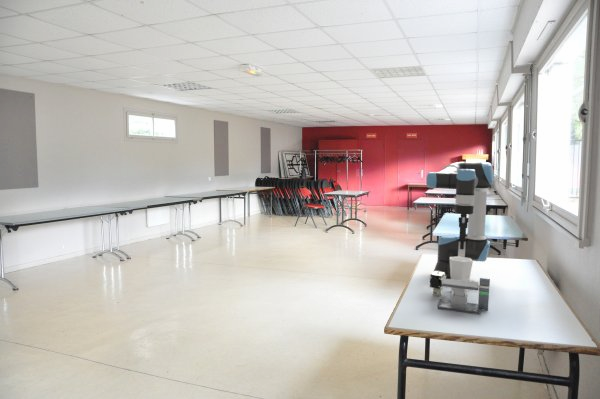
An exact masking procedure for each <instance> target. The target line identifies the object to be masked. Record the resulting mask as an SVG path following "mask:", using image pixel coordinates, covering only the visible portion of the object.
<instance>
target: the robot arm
mask: <svg viewBox="0 0 600 399" xmlns="http://www.w3.org/2000/svg"><path fill="white" fill-rule="evenodd" d="M494 177H495V176H494V168H493V164H492V163H491V162H486V161H485V162H484V161H459V162H458V161H457V162H453V163H450V164H447V165H445V166H444V167H443V168H442V170H439V171H432V172H431V171H430V172H428V173H427V175H426V180H425V181H426V187H427V188H429V189H443V190H444V189H447V190H455V196H454V197H453V199H455V201H454V202H455V205H454V213H455V214H459V215H460V216H458V227H459V234H444V235H441V236H439V237H438V243H437V261H436V264H435V266H434V269H433V272H435V271H441V272H445V276H446V279H451V274H450V258H449V257H457V256H459V257H466V258H471V259H472V261H473V262H486V261H487V258H488V255H489V251H490V246H491V241H490V240H488V236H487V235H486V234H485V233H486V216H487V215H486V214H487V199H488V198H487V194H488V191H489V189H490V188H491V186H492V185H494V182H495V181H494Z"/></svg>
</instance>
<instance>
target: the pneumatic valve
mask: <svg viewBox="0 0 600 399" xmlns="http://www.w3.org/2000/svg"><path fill="white" fill-rule="evenodd" d="M443 278H444V279H446V276H445V272H441V271H435V272H434V271H433V272H432V273H431V274H430V279H429V288H433V289H432V296H433V297H434V296H435V297H438V298H439V297H441V295H442V287H443V286H441V285H442V279H443Z"/></svg>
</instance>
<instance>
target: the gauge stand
mask: <svg viewBox="0 0 600 399" xmlns="http://www.w3.org/2000/svg"><path fill="white" fill-rule="evenodd" d="M490 284H491V279H490V278H484V277H479V283H478V285H479V286H488V287H489V289H487V288H479V289H478V299H477V300H478V303H473V302H467V301H468V292H467V293H464V296H456V295H454V294H455V292H453V291H451V295H450V296H451V297H450V300H449V299H442V298H441V299H440V298H439V299H438V304H437V310H444V311H450V312H451V311H454V312H459V313H466V314H472V315H473V314H474V315H480V314H481V312H480V311H486V312H488V311H489V302H490V300H489V299H490Z"/></svg>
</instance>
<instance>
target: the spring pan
mask: <svg viewBox="0 0 600 399" xmlns="http://www.w3.org/2000/svg"><path fill="white" fill-rule="evenodd" d="M441 286H442V287H444V288H451V287H452V288H455V294H454V295H456V296H464V290H465V289H468V291H477V292H479V288H487V289H489V290H490V286H489V287H488V286H479V282H477V281H470V280H469V281H462V280H453V279H444V278H443V279H442V285H441Z"/></svg>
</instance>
